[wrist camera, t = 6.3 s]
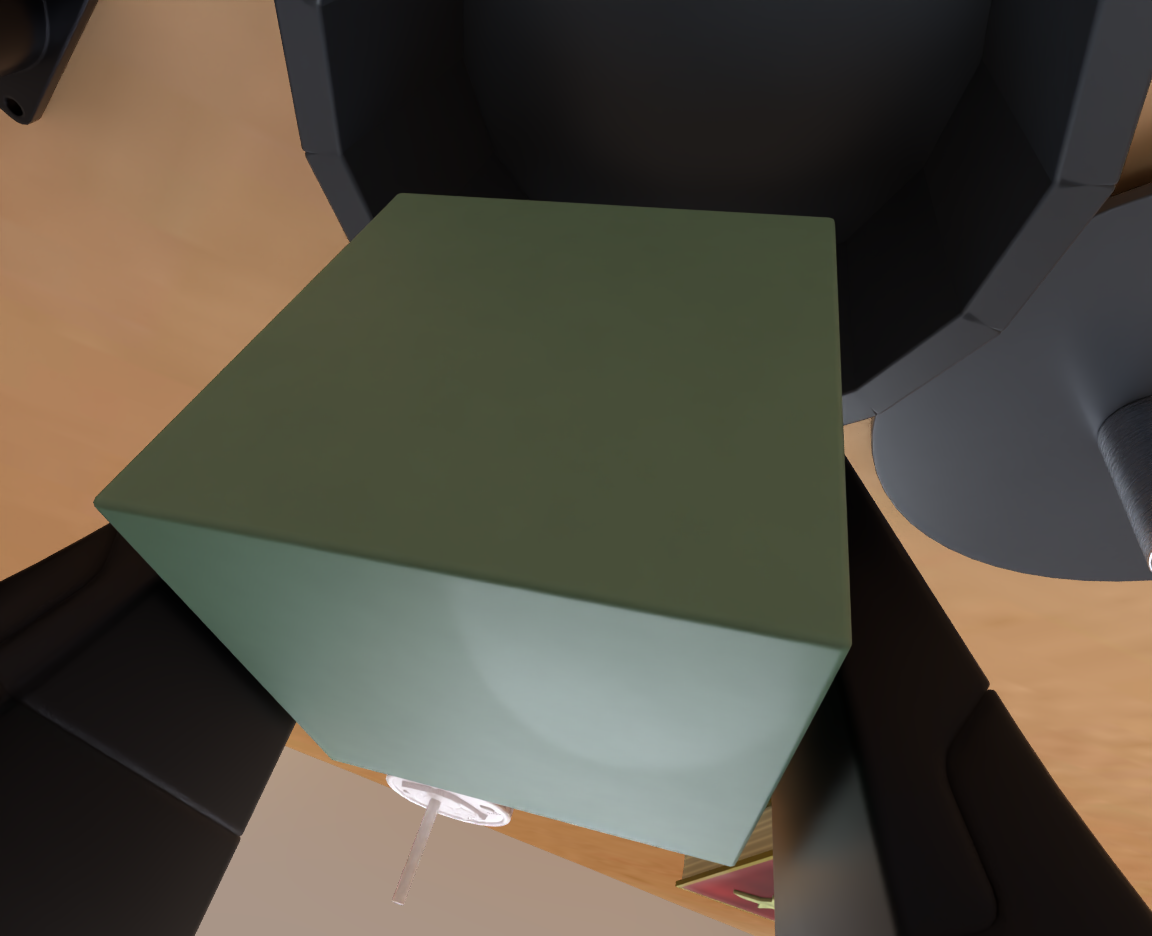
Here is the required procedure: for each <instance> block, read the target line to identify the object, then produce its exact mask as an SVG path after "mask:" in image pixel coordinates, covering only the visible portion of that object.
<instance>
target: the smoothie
mask: <svg viewBox="0 0 1152 936" xmlns="http://www.w3.org/2000/svg"><path fill="white" fill-rule="evenodd" d="M386 780H387V783H388V784H389V786H390V787H391V788H392V789H393V790H394V791H395V792H397V793H398V794H400V795H401V796H403V797H404V798H406V799H408V800H409V801H411V802H413V803H415V804H417V805H419V806H422V807H424V808H426V812H425V814H424V817H423V819H422V822H421V825H420V828H419V830H418V833H417V835H416V838H415V841H414V843H413V846H412V849H411V851H410V854H409V856H408V859H407V862H406V864H405V867H404V870H403V872H402V875H401V878H400V880H399V883H398V885H397V888H396V891H395V893H394V896H393V899H392V902H394V903H396V904H399V905H404V903H405V900H406V897H407V895H408V892H409V889H410V887H411V884H412V881H413V878H414V876H415V873H416V870H417V867H418V865H419V862H420V859H421V857H422V854H423V851H424V848H425V845H426V843H427V840H428V837H429V835H430V832H431V829H432V826H433V824H434V821H435V818H436V816H437V813H438V814H441V815H444V816H447V817H450V818H453V819H456V820H460V821H464V822H468V823H472V824H477V825H484V826H503V825H506V824H508V823H509V822H510V820H511V816H512V813H513V809H514V808H510V807H507V806H503V805H499V804H495V803H492V802H488V801H484V800H481V799H477V798H473V797H469V796H466V795H462V794H458V793H454V792H451V791H447V790H443V789H440V788H436V787H432V786H428V785H425V784H421V783H417V782H414V781H410V780H406V779H402V778H399V777H395V776H391V775H387V777H386Z"/></svg>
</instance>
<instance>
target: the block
mask: <svg viewBox="0 0 1152 936" xmlns="http://www.w3.org/2000/svg"><path fill="white" fill-rule="evenodd" d="M93 503H94V506H95V507H96V508H97V510H98V511H99V512H100V513H101V514H102V515H103V516H104V517H105V518H106V519H107V520H108V521H109V522H110V523H111V524H112V526H113V527H114V528H115V529H116V530H117V531H118V532H119V533H120V534H121V535H122V536H123V537H124V538H125V539H126V540H127V542H128V543H129V544H130V545H131V546H132V547H133V548H134V549H135V550H136V551H137V552H138V553H139V554H140V555H141V556H142V558H143V559H144V560H145V561H146V562H147V563H148V564H149V565H150V566H151V567H152V568H153V569H154V570H155V571H156V572H157V574H158V575H159V576H160V577H161V578H162V579H163V580H164V581H165V582H166V583H167V584H168V585H169V586H170V587H171V588H172V590H173V591H174V592H175V593H176V594H177V595H178V596H179V597H180V598H181V599H182V600H183V601H184V602H185V603H186V604H187V606H188V607H189V608H190V609H191V610H192V611H193V612H194V613H195V614H196V615H197V616H198V617H199V618H200V619H201V620H202V622H203V623H204V624H205V625H206V626H207V627H208V628H209V629H210V630H211V631H212V632H213V633H214V634H215V635H216V636H217V638H218V639H219V640H220V641H221V642H222V643H223V644H224V645H225V646H226V647H227V648H228V649H229V650H230V651H231V652H232V654H233V655H234V656H235V657H236V658H237V659H238V660H239V661H240V662H241V663H242V664H243V665H244V666H245V667H246V668H247V670H248V671H249V672H250V673H251V674H252V675H253V676H254V677H255V678H256V679H257V680H258V681H259V682H260V683H261V684H262V686H263V687H264V688H265V689H266V690H267V691H268V692H269V693H270V694H271V695H272V696H273V697H274V698H275V699H276V700H277V702H278V703H279V704H280V705H281V706H282V707H283V708H284V709H285V710H286V711H287V712H288V713H289V714H290V715H291V716H292V718H293V719H294V720H295V721H296V722H297V723H298V724H299V725H300V726H301V727H302V728H303V729H304V730H305V731H306V733H307V734H308V735H309V736H310V737H311V738H312V739H313V740H314V741H315V742H316V743H317V744H318V745H319V746H320V747H321V749H322V750H323V751H324V752H325V753H326V754H327V755H328V756H329V757H330V758H331V759H332V760H335V761H339V762H343V763H347V764H350V765H354V766H358V767H361V768H365V769H369V770H373V771H376V772H380V773H384V774H388V775H391V776H395V777H399V778H402V779H406V780H410V781H414V782H417V783H421V784H425V785H428V786H432V787H436V788H440V789H443V790H447V791H451V792H454V793H458V794H462V795H466V796H469V797H473V798H477V799H481V800H484V801H488V802H492V803H495V804H499V805H503V806H507V807H510V808H514V809H518V810H521V811H525V812H529V813H533V814H536V815H540V816H544V817H547V818H551V819H555V820H559V821H562V822H566V823H570V824H574V825H577V826H581V827H585V828H588V829H592V830H596V831H600V832H603V833H607V834H611V835H614V836H618V837H622V838H626V839H629V840H633V841H637V842H641V843H644V844H648V845H652V846H655V847H659V848H663V849H667V850H670V851H674V852H678V853H681V854H685V855H689V856H693V857H696V858H700V859H704V860H707V861H711V862H715V863H719V864H722V865H726V866H730V867H731V866H735V865H736V863H737V861H738V859H739V857H740V855H741V853H742V851H743V849H744V848H745V846H746V844H747V842H748V840H749V838H750V836H751V834H752V832H753V831H754V829H755V827H756V825H757V823H758V821H759V819H760V817H761V816H762V814H763V812H764V810H765V808H766V806H767V804H768V802H769V800H770V799H771V797H772V795H773V793H774V791H775V789H776V787H777V785H778V783H779V782H780V780H781V778H782V776H783V774H784V772H785V770H786V768H787V767H788V765H789V763H790V761H791V759H792V757H793V755H794V753H795V751H796V750H797V748H798V746H799V744H800V742H801V740H802V738H803V736H804V734H805V733H806V731H807V729H808V727H809V725H810V723H811V721H812V719H813V718H814V716H815V714H816V712H817V710H818V708H819V706H820V704H821V702H822V701H823V699H824V697H825V695H826V693H827V691H828V689H829V687H830V685H831V684H832V682H833V680H834V678H835V676H836V674H837V672H838V670H839V668H840V667H841V665H842V663H843V661H844V659H845V657H846V655H847V653H848V652H849V650H850V648H851V646H852V629H851V604H850V579H849V555H848V530H847V506H846V481H845V456H844V432H843V407H842V383H841V358H840V333H839V309H838V284H837V260H836V235H835V222H834V219H832V218H827V217H809V216H792V215H775V214H757V213H740V212H723V211H705V210H688V209H671V208H653V207H636V206H619V205H601V204H584V203H566V202H549V201H532V200H514V199H497V198H480V197H462V196H445V195H428V194H410V193H400V194H398V195H396V196H395V197H394V198H393V199H392V200H391V201H390V202H389V203H388V205H387V206H386V207H385V208H384V209H383V210H382V211H381V212H380V213H379V214H378V215H377V216H376V217H375V218H374V219H373V220H372V221H371V222H370V223H369V224H368V225H367V226H366V227H365V228H364V229H363V230H362V231H361V232H360V233H359V234H358V235H357V236H356V237H355V238H354V239H353V240H352V241H351V242H350V243H349V244H348V245H347V246H346V247H345V248H344V249H343V250H342V251H341V252H340V253H339V254H338V255H337V256H336V257H335V258H334V259H333V260H332V261H331V262H330V263H329V264H328V265H327V266H326V267H325V268H324V269H323V270H322V271H321V272H320V273H319V274H318V275H317V276H316V277H315V278H314V279H313V280H312V281H311V282H310V283H309V284H308V285H307V286H306V287H305V288H304V289H303V290H302V291H301V292H300V293H299V294H298V295H297V296H296V297H295V298H294V299H293V300H292V301H291V302H290V303H289V304H288V305H287V306H286V307H285V308H284V309H283V310H282V311H281V312H280V313H279V314H278V315H277V316H276V317H275V318H274V319H273V320H272V321H271V322H270V323H269V324H268V325H267V326H266V327H265V328H264V329H263V330H262V331H261V332H260V333H259V334H258V335H257V336H256V337H255V338H254V339H253V340H252V341H251V342H250V343H249V344H248V345H247V346H246V347H245V348H244V349H243V350H242V351H241V352H240V353H239V354H238V355H237V356H236V357H235V358H234V359H233V360H232V361H231V362H230V363H229V364H228V365H227V366H226V367H225V368H224V369H223V370H222V371H221V372H220V373H219V374H218V375H217V376H216V377H215V378H214V379H213V380H212V381H211V382H210V383H209V384H208V385H207V386H206V387H205V388H204V389H203V390H202V391H201V392H200V393H199V394H198V395H197V396H196V397H195V398H194V399H193V400H192V401H191V402H190V403H189V404H188V405H187V406H186V407H185V408H184V409H183V410H182V411H181V412H180V413H179V414H178V415H177V416H176V417H175V418H174V419H173V420H172V421H171V422H170V423H169V424H168V425H167V426H166V427H165V428H164V429H163V430H162V431H161V432H160V433H159V434H158V435H157V436H156V437H155V438H154V439H153V440H152V441H151V442H150V443H149V444H148V445H147V446H146V447H145V448H144V449H143V450H142V451H141V452H140V453H139V454H138V455H137V456H136V457H135V458H134V459H133V460H132V461H131V462H130V463H129V464H128V465H127V466H126V467H125V468H124V469H123V470H122V471H121V472H120V473H119V474H118V475H117V476H116V477H115V478H114V479H113V480H112V481H111V482H110V483H109V484H108V485H107V486H106V487H105V488H104V489H103V490H102V491H101V492H100V493H99V494H98V495H97V496H96V497H95V500H94V502H93Z"/></svg>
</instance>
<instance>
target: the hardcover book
mask: <svg viewBox="0 0 1152 936" xmlns="http://www.w3.org/2000/svg"><path fill="white" fill-rule="evenodd" d="M676 887H678V888H681V889H684V890H687V891H690V892H692V893H695V894H698V895H701V896H704V897H706V898H709V899H712V900H715V901H718V902H720V903H723V904H726V905H729V906H732V907H734V908H737V909H740V910H743V911H746V912H748V913H751V914H754V915H757V916H760V917H762V918H765V919H768V920H771V921H774V922H775V909H774V874H773V838H772V803H771V799H770V800H769V802H768V804H767V806H766V808H765V810H764V812H763V814H762V816H761V817H760V819H759V821H758V823H757V825H756V827H755V829H754V831H753V832H752V834H751V836H750V838H749V840H748V842H747V844H746V846H745V848H744V849H743V851H742V853H741V855H740V857H739V859H738V861H737V863H736V865H735V866H731V867H730V866H726V865H722V864H719V863H715V862H711V861H707V860H704V859H700V858H696V857H693V856H689V855H685V860H684V869H683V877H682V880H679V881H676Z"/></svg>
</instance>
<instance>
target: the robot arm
mask: <svg viewBox="0 0 1152 936" xmlns="http://www.w3.org/2000/svg"><path fill="white" fill-rule="evenodd" d="M97 2H98V0H0V108H1V109H2V110H3V111H4V112H5V113H6V114H7V115H8V116H10V117H11V118H12V119H14V120H15V121H16V122H18V123H21V124H25V125H28V124H30V123H32V122H35V121H37V120H39V119H40V118H41V116H42V114H43V112H44V110H45V108H46V106H47V104H48V102H49V100H50V98H51V96H52V94H53V92H54V90H55V88H56V86H57V84H58V82H59V80H60V77H61V75H62V73H63V71H64V69H65V67H66V65H67V63H68V61H69V59H70V57H71V55H72V53H73V51H74V49H75V47H76V45H77V43H78V41H79V39H80V36H81V34H82V32H83V30H84V28H85V26H86V24H87V22H88V20H89V18H90V16H91V14H92V12H93V10H94V8H95V6H96V4H97ZM844 456H845V454H844ZM845 481H846V506H847V530H848V555H849V579H850V604H851V629H852V646H851V648H850V650H849V652H848V653H847V655H846V657H845V659H844V661H843V663H842V665H841V667H840V668H839V670H838V672H837V674H836V676H835V678H834V680H833V682H832V684H831V685H830V687H829V689H828V691H827V693H826V695H825V697H824V699H823V701H822V702H821V704H820V706H819V708H818V710H817V712H816V714H815V716H814V718H813V719H812V721H811V723H810V725H809V727H808V729H807V731H806V733H805V734H804V736H803V738H802V740H801V742H800V744H799V746H798V748H797V750H796V751H795V753H794V755H793V757H792V759H791V761H790V763H789V765H788V767H787V768H786V770H785V772H784V774H783V776H782V778H781V780H780V782H779V783H778V785H777V787H776V789H775V791H774V793H773V795H772V797H771V803H772V838H773V874H774V909H775V936H1152V911H1151V910H1150V909H1149V907H1148V906H1147V905H1146V903H1145V902H1144V901H1143V899H1142V898H1141V897H1140V896H1139V894H1138V893H1137V892H1136V890H1135V889H1134V888H1133V886H1132V885H1131V884H1130V883H1129V881H1128V880H1127V879H1126V877H1125V876H1124V875H1123V873H1122V872H1121V871H1120V869H1119V868H1118V867H1117V866H1116V864H1115V863H1114V862H1113V860H1112V859H1111V858H1110V856H1109V855H1108V854H1107V852H1106V851H1105V850H1104V848H1103V847H1102V846H1101V844H1100V843H1099V842H1098V840H1097V839H1096V838H1095V836H1094V835H1093V833H1092V832H1091V831H1090V829H1089V828H1088V827H1087V825H1086V824H1085V823H1084V821H1083V820H1082V819H1081V817H1080V816H1079V814H1078V813H1077V812H1076V810H1075V809H1074V808H1073V806H1072V805H1071V804H1070V802H1069V801H1068V800H1067V798H1066V797H1065V795H1064V794H1063V793H1062V791H1061V790H1060V789H1059V787H1058V786H1057V784H1056V783H1055V781H1054V780H1053V778H1052V777H1051V775H1050V774H1049V772H1048V771H1047V769H1046V768H1045V766H1044V765H1043V763H1042V762H1041V760H1040V759H1039V757H1038V756H1037V754H1036V753H1035V752H1034V750H1033V749H1032V747H1031V746H1030V744H1029V743H1028V741H1027V740H1026V738H1025V737H1024V735H1023V734H1022V732H1021V731H1020V729H1019V728H1018V726H1017V724H1016V723H1015V721H1014V720H1013V718H1012V717H1011V715H1010V713H1009V712H1008V710H1007V709H1006V707H1005V706H1004V704H1003V702H1002V701H1001V699H1000V698H999V696H998V694H997V693H996V692H995V691H994V690H987V689H988V687H989V685H990V683H989V681H988V679H987V678H986V676H985V675H984V673H983V671H982V670H981V668H980V667H979V665H978V664H977V662H976V660H975V659H974V657H973V656H972V654H971V652H970V651H969V649H968V648H967V646H966V645H965V643H964V641H963V640H962V638H961V637H960V635H959V634H958V632H957V630H956V629H955V627H954V626H953V624H952V623H951V621H950V619H949V618H948V616H947V615H946V613H945V612H944V610H943V608H942V607H941V605H940V604H939V602H938V601H937V599H936V597H935V596H934V594H933V593H932V591H931V590H930V588H929V586H928V585H927V583H926V582H925V580H924V579H923V577H922V575H921V574H920V572H919V571H918V569H917V568H916V566H915V564H914V563H913V561H912V560H911V558H910V556H909V555H908V553H907V552H906V550H905V549H904V547H903V545H902V544H901V542H900V541H899V539H898V538H897V536H896V534H895V533H894V531H893V530H892V528H891V527H890V525H889V523H888V522H887V520H886V519H885V517H884V516H883V514H882V512H881V511H880V509H879V508H878V506H877V505H876V503H875V501H874V500H873V498H872V497H871V495H870V494H869V492H868V490H867V489H866V487H865V486H864V484H863V483H862V481H861V479H860V478H859V476H858V475H857V473H856V472H855V470H854V468H853V467H852V465H851V464H850V462H849V460H848V459H847V457H846V456H845ZM295 723H296V721H295V720H294V719H293V718H292V716H291V715H290V714H289V713H288V712H287V711H286V710H285V709H284V708H283V707H282V706H281V705H280V704H279V703H278V702H277V700H276V699H275V698H274V697H273V696H272V695H271V694H270V693H269V692H268V691H267V690H266V689H265V688H264V687H263V686H262V684H261V683H260V682H259V681H258V680H257V679H256V678H255V677H254V676H253V675H252V674H251V673H250V672H249V671H248V670H247V668H246V667H245V666H244V665H243V664H242V663H241V662H240V661H239V660H238V659H237V658H236V657H235V656H234V655H233V654H232V652H231V651H230V650H229V649H228V648H227V647H226V646H225V645H224V644H223V643H222V642H221V641H220V640H219V639H218V638H217V636H216V635H215V634H214V633H213V632H212V631H211V630H210V629H209V628H208V627H207V626H206V625H205V624H204V623H203V622H202V620H201V619H200V618H199V617H198V616H197V615H196V614H195V613H194V612H193V611H192V610H191V609H190V608H189V607H188V606H187V604H186V603H185V602H184V601H183V600H182V599H181V598H180V597H179V596H178V595H177V594H176V593H175V592H174V591H173V590H172V588H171V587H170V586H169V585H168V584H167V583H166V582H165V581H164V580H163V579H162V578H161V577H160V576H159V575H158V574H157V572H156V571H155V570H154V569H153V568H152V567H151V566H150V565H149V564H148V563H147V562H146V561H145V560H144V559H143V558H142V556H141V555H140V554H139V553H138V552H137V551H136V550H135V549H134V548H133V547H132V546H131V545H130V544H129V543H128V542H127V540H126V539H125V538H124V537H123V536H122V535H121V534H120V533H119V532H118V531H117V530H116V529H115V528H114V527H113V526H112V524H111V523H109V524H107V525H105V526H103V527H102V528H100V529H98V530H96V531H95V532H93V533H91V534H89V535H87V536H86V537H84V538H82V539H80V540H78V541H76V542H75V543H73V544H71V545H69V546H67V547H65V548H64V549H62V550H60V551H58V552H56V553H54V554H53V555H51V556H49V557H47V558H45V559H43V560H42V561H40V562H38V563H36V564H34V565H32V566H30V567H28V568H26V569H24V570H22V571H20V572H18V573H16V574H14V575H12V576H10V577H8V578H6V579H4V580H2V581H0V936H195V934H196V932H197V929H198V928H199V925H200V923H201V921H202V919H203V917H204V915H205V913H206V911H207V908H208V907H209V904H210V902H211V900H212V898H213V896H214V894H215V892H216V890H217V888H218V886H219V884H220V881H221V879H222V877H223V875H224V873H225V871H226V869H227V867H228V865H229V863H230V860H231V858H232V856H233V854H234V852H235V850H236V848H237V846H238V844H239V842H240V836H241V835H242V834H243V832H244V830H245V828H246V826H247V824H248V821H249V820H250V818H251V816H252V813H253V811H254V809H255V807H256V805H257V803H258V800H259V799H260V797H261V794H262V792H263V790H264V788H265V786H266V784H267V782H268V780H269V778H270V776H271V774H272V772H273V769H274V767H275V765H276V763H277V761H278V759H279V757H280V755H281V753H282V750H283V748H284V746H285V744H286V742H287V740H288V738H289V736H290V734H291V732H292V730H293V728H294V725H295Z"/></svg>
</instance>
